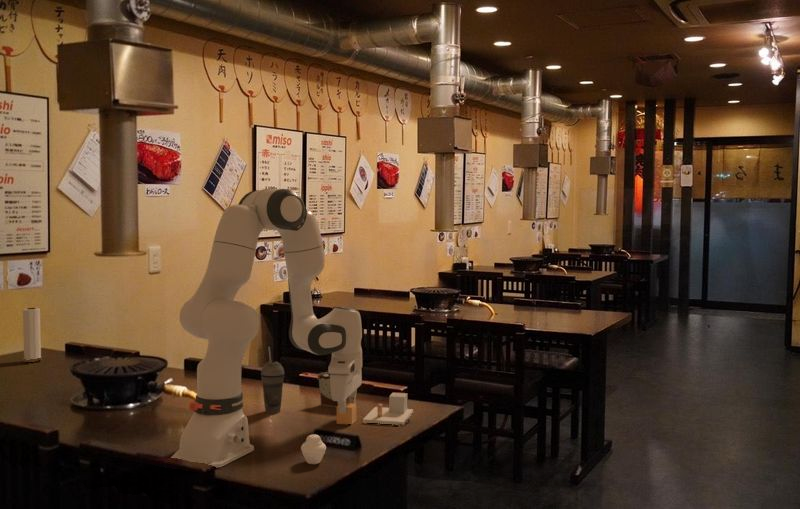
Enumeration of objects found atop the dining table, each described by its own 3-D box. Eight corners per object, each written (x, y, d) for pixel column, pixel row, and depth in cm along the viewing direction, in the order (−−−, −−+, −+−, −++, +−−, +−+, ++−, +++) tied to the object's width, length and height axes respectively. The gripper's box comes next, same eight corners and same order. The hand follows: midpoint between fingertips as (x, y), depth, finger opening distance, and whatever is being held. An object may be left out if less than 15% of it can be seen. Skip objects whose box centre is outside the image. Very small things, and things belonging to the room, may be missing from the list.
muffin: (327, 458, 189) (327, 430, 189) (324, 466, 183) (324, 438, 182) (303, 457, 189) (303, 430, 189) (298, 466, 183) (298, 437, 183)
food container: (360, 404, 240) (360, 373, 239) (350, 409, 234) (350, 377, 234) (327, 400, 245) (327, 369, 245) (317, 404, 240) (317, 373, 239)
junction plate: (403, 426, 217) (403, 404, 217) (363, 423, 220) (363, 402, 219) (413, 413, 231) (413, 393, 230) (375, 410, 233) (375, 390, 233)
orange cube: (351, 424, 218) (351, 407, 218) (336, 423, 219) (336, 406, 219) (356, 420, 222) (356, 403, 222) (341, 419, 223) (341, 402, 223)
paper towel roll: (32, 359, 304) (31, 307, 303) (44, 360, 302) (43, 307, 301) (18, 363, 297) (16, 309, 296) (30, 364, 296) (29, 310, 294)
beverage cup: (279, 415, 227) (279, 349, 225) (256, 414, 228) (256, 348, 227) (288, 409, 234) (288, 345, 232) (266, 407, 235) (265, 344, 234)
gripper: (346, 353, 231) (347, 398, 232) (326, 369, 211) (326, 417, 212) (366, 354, 229) (366, 399, 230) (347, 370, 209) (348, 418, 211)
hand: (347, 408), depth 221 cm, fingers open, 8 cm apart
